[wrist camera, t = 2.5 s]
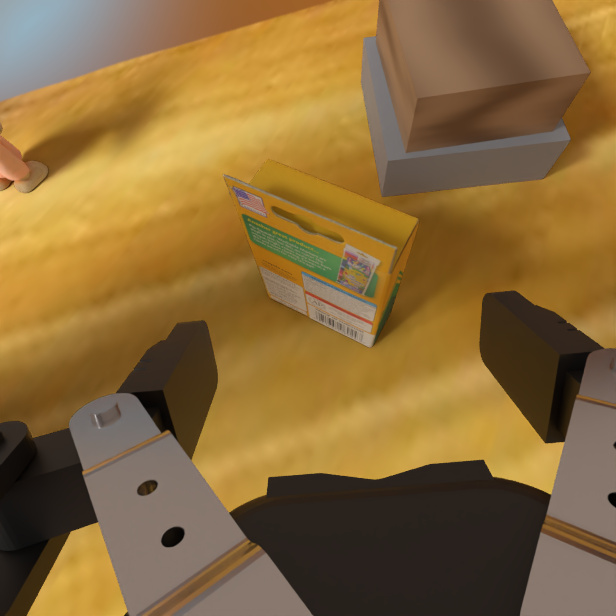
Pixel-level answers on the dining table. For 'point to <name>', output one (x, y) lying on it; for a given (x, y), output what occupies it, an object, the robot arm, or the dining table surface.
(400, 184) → the tower base block
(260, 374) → the dining table surface
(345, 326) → the crayon box
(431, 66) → the tower top block
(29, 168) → the grandmother figurine
